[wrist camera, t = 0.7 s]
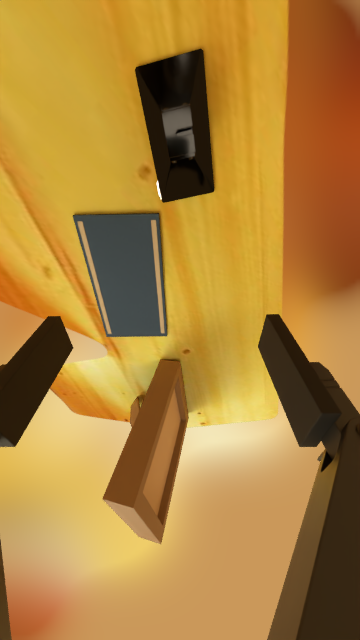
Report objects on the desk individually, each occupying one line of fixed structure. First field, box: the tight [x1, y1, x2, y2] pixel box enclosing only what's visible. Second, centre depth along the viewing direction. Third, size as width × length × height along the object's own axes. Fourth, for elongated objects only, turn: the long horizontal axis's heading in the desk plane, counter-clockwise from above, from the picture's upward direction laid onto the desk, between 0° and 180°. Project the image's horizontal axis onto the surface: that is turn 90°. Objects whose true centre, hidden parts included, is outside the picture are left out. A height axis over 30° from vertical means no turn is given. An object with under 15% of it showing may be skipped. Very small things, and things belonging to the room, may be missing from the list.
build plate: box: [135, 49, 214, 202], centre depth 24 cm, size 12×7×5 cm, turn 10°
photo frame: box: [103, 360, 189, 544], centre depth 43 cm, size 15×22×25 cm
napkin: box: [73, 213, 167, 337], centre depth 36 cm, size 22×12×1 cm, turn 1°
